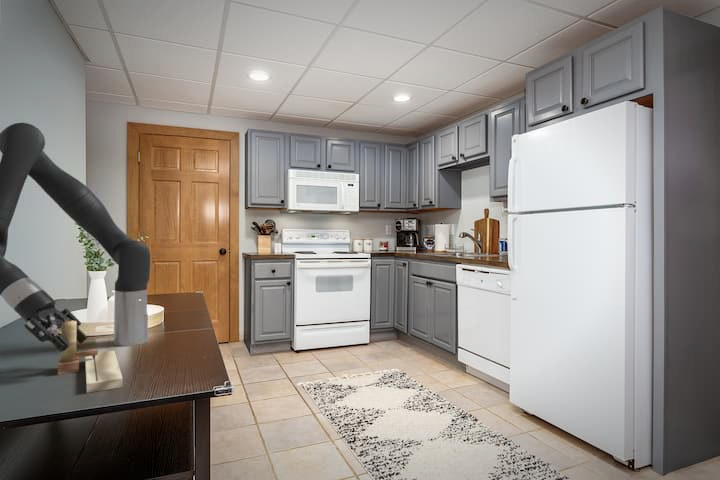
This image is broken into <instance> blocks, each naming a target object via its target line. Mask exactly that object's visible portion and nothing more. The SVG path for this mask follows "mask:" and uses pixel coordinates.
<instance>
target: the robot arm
mask: <svg viewBox="0 0 720 480" xmlns="http://www.w3.org/2000/svg"><path fill="white" fill-rule="evenodd" d="M45 139H46V138H45V136H44V134H43V133H42V131H41V130H40V129H39V128H38V127H36V126H35V125H34V124H31V123H28V122H17V123H13V124H10V125H8V126H7V127H5V128H4V129H3V130H2V131H1V132H0V152H1V158H0V296H1V297H2V298H3V300H4V301H5V302H6V304H7V305H8V306H9V307H10V308H11V309H12V310H14V311H15V312H16V313H17V315H19V316H20V317H21V318H22V319H23V320H24V321H25V322H27V323H26V324H24V328H25V329H26V330H27V331H28V332H29V333H31V334H32V335H33V336H34V337H35V338H36V339H37V340H38V341H40V342H41V343H44V342H48V343H51V344H53V345H54V346H55V348H57V349H58V350H59V351H60V352H61V351H62V352H63V351H65V350H66V349H67V348H68V347H69V346H70V345H69V344H68V343H67V342H66V341H65V340H64V339H63V338H62V337H61V335H59V333H58V331H61V329H62V322H65V321H77V335H76V342H77V343H79V344H83V343H84V342H85V341H87V340H88V336H87V335H86V334H85V333H84V332H83V331H82V330H81V329H80V325H82V322H81V321H80V320H79V319H78V318H77V317H76V315H74V314H73V313H72V312H71V311H70V310H69V309H68V308H64V309H63V310H58V309H57V308H55V305H57V304H56V301H55V299H53V297H51V295H50V294H48V293H47V291H45V290H44V289H43V288H42V287H41V286H40V285H39V284H38V283H37V282H36V281H34V280H32V278H30V277H29V275H27V274H26V272H24V270H22V269H21V268H20V267H18V265H16V264H14V263H12V262H10V261H8V260H7V259H6V258H5V255H6V253H7V247H8V237H9V227H10V226H11V223H12V220H13V217H14V215H15V211H16V208H17V206H18V202H19V200H20V196H21V194H22V191H23V188H24V186H25V183H26V181H27V178H28V177H30V178H31V179H32V180H33V181H35V183H36V184H37V185H38V186H39V187H40V189H42V190H43V191H44V192H45V194H46V195H48V197H50V198H51V199H52V201H54V203H56V204H57V205H58V207H59V208H60V209H62V211H63V212H64V213H65V214H67V216H68V217H70V218H71V220H73V221H74V222H75V223H76V224H77V225H78V226H79V227H81V228H82V229H83V230H84V231H85V232H87V233H88V235H90V236H91V237H93V238H94V239H95V240H96V241H97V242H98V244H99V245H100V246H101V247H102V248H103V249H104V251H106V253H107V254H108V255H109V256H110V258H111V259H112V260H113V262H114V263H115V264H117V265H118V268H117V269H118V270H117V272H118V273H117V274H118V275H117V278H116V280H115V282H114V318H113V319H114V322H113V324H114V326H113V336H114V337H113V340H114V341H113V344H114V345H115V346H118V347H129V346H130V347H132V346H137V345H141V344H146V343H148V340H149V339H148V337H149V336H148V331H149V330H148V328H149V324H148V323H149V320H148V319H149V314H148V284H149V281H150V277H151V275H150V274H151V273H150V272H151V251H150V248H149V247H148V246H147V244H146V243H144V242H142V241H140V240H134V239H132V238H131V237H129V235H127V234H126V232H124V231H123V230H122V229H121V228H120V227H119V226H118V225H117V223H115V221H114V220H113V218H112V217H111V214H110V212H108V210H107V208H106V206H105V205H104V204H103V202H102V201H101V200H100V199H99V197H97V196H96V195H95V193H93V191H92V190H91V189H90V188H89V187H88V186H86V185H85V184H84V183H83V182H81V181H80V180H78V179H77V178H76V177H75V176H72V174H69V173H68V172H66V171H65V170H63V169H62V168H61V167H59V166H58V165H57V164H56V163H55V162H54V161H52V159H51V158H50V157H49V156H48V154H46V152H45V151H44V149H45V146H46V140H45ZM40 332H41V333H40Z"/></svg>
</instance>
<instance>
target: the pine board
mask: <svg viewBox="0 0 720 480" xmlns="http://www.w3.org/2000/svg"><path fill="white" fill-rule="evenodd" d="M84 363H85V364H84V365H85V366H84V367H85V381H86V385H85V387H86V394H89V393H95V392H102V391H106V390H111V389H118V388H123V385H124V383H123V380H124V379H123V374H122V372H121V369H120V364H119V361H118V358H117V355H116V351H115V350H110V351H103V352H102V351H101V352H100V351H99V352H98V355H95V358H93V356H85V357H84Z"/></svg>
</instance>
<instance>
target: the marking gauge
mask: <svg viewBox="0 0 720 480" xmlns="http://www.w3.org/2000/svg"><path fill="white" fill-rule="evenodd" d="M60 334H61V335H60V336H61V337H62V338H63V339H64V340H65V341H66V342H67V343H68V344H69V345H70V346H69V347H68V348H67V349H66V350H65V351H63V352H62V351H60V355H61V356H60V358H58V361H57V375H58V376H61V375H69V374H74V373H79V372H80V358H85V356H93V358H95V355H98V353H99V352H98V351H99V350H98V348H97V349H95V348H94V349H89V350H81V351H79V350H78V351H77V340H76V335H77V321H73V320H72V321H65V322H62V329H61V333H60Z"/></svg>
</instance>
